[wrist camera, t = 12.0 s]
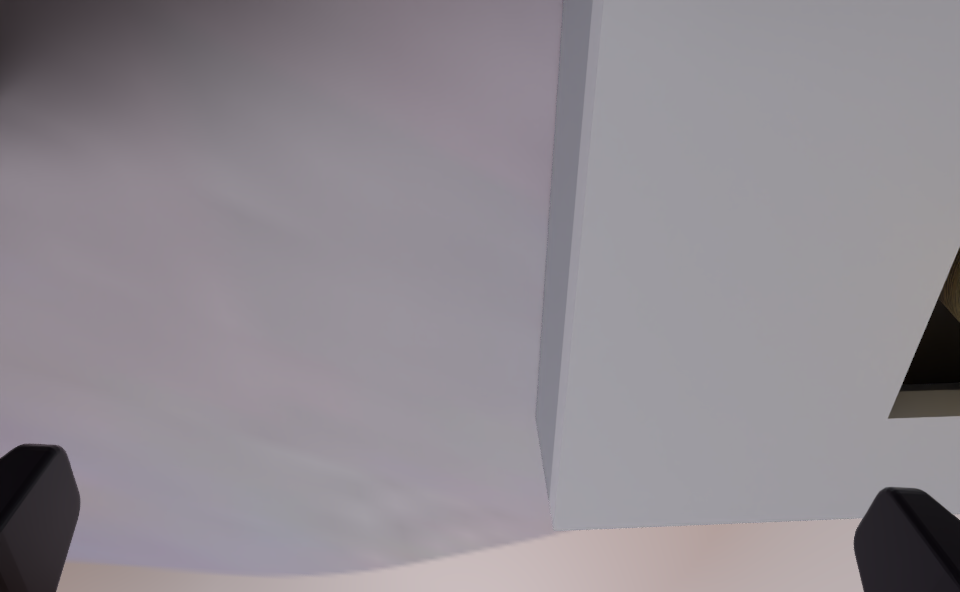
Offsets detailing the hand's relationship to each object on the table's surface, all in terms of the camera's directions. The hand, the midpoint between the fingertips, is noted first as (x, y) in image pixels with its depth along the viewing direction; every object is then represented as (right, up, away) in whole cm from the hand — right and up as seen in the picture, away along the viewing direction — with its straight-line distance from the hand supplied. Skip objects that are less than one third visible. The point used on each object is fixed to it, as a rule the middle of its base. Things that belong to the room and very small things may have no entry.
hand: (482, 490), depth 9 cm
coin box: (+12, +5, +13) cm, 18 cm away
